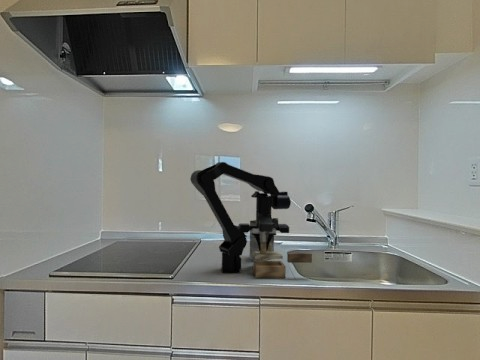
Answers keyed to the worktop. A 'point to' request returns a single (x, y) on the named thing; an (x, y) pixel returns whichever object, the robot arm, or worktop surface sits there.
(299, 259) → the brown rectangular block
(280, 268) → the open wooden box
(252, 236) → the coffee box
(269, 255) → the lid
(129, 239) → the worktop surface
